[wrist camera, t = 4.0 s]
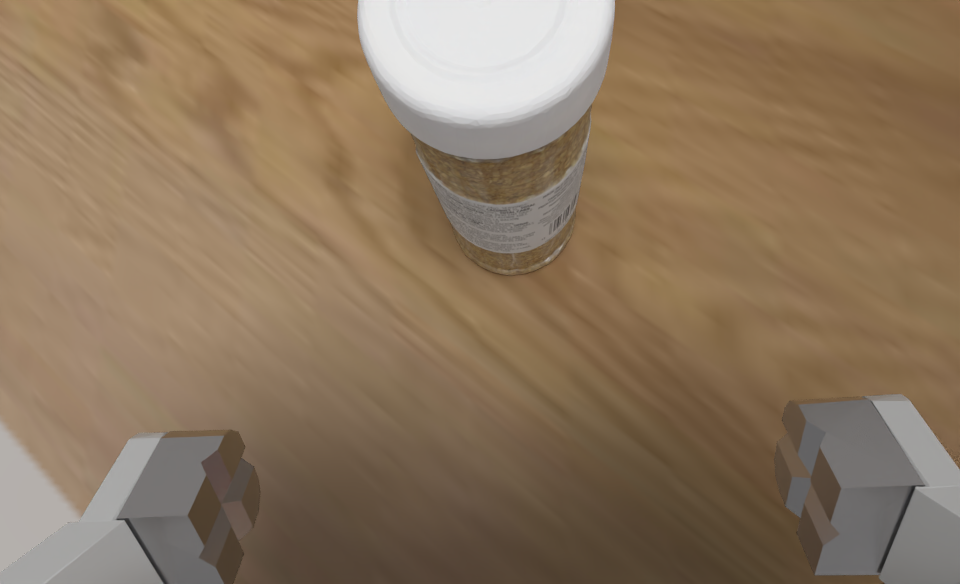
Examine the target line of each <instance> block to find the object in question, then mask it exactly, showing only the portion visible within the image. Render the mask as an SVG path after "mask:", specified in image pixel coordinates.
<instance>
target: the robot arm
mask: <svg viewBox="0 0 960 584" xmlns="http://www.w3.org/2000/svg"><path fill="white" fill-rule="evenodd" d="M782 422H783V424H784V426H785V428H786V430H787V434H786V435H785V436H784V437H782V438H781V439H780V440H779V441H778V442H777V446H776V452H775V458H774V461H775V476H776V480H777V484H778V488H779V492H780V494H781V497H782V499H783V502H784V504H785V507H787V508H788V509H789V510H791V511H792V512H793V513H795V514H796V515H797V516H798V517H800V521H799V525H798V529H797V536H798V538H799V540H800V543H801V545H802V547H803V550H804V552H805V554H806V557H807V559H808V561H809V564H810V566H811V568H812V571H813V573H814V575H880V576H879V579H880V580H882V581H883V582H884V583H885V584H960V469H959V468H958V466H957V465H956V464H955V462H954V461H953V460H952V458H951V457H950V455H949V454H948V453H947V451H946V450H945V449H944V447H943V446H942V444H941V443H940V442H939V440H938V439H937V437H936V436H935V435H934V433H933V432H932V431H931V429H930V428H929V426H928V425H927V424H926V422H925V421H924V420H923V418H922V417H921V415H920V414H919V413H918V411H917V410H916V408H915V407H914V406H913V404H912V403H911V402H910V400H909V399H908V398H906V397H905V396H903V395H902V394H891V395H875V396H863V397H843V398H826V399H810V400H793V401H789V402H788V404H787V405H786V407H785V409H784V413H783V417H782ZM244 449H245V444H244V442H243V440H242V438H241V436H240V434H239V432H238V431H233V430H206V431H170V432H154V433H138V434H136V435H135V436H133V437H132V438H130V439H129V440H128V442H127V443H126V445H125V447H124V448H123V450H122V451H121V453H120V455H119V456H118V458H117V460H116V461H115V463H114V465H113V466H112V468H111V469H110V471H109V473H108V474H107V476H106V478H105V479H104V481H103V483H102V484H101V486H100V487H99V489H98V491H97V492H96V494H95V496H94V497H93V499H92V501H91V502H90V504H89V505H88V507H87V509H86V510H85V512H84V514H83V515H82V517H81V519H80V520H79V522H69V523H67V524H66V525H64V526H63V527H62V528H60V529H59V530H58V531H56V532H55V533H54V534H52V535H51V536H49V537H48V538H47V539H45V540H44V541H43V542H41V543H40V544H38V545H37V546H36V547H34V548H33V549H32V550H30V551H29V552H27V553H26V554H25V555H23V556H22V557H21V558H19V559H18V560H17V561H15V562H14V563H12V564H11V565H10V566H8V567H7V568H6V569H4V570H3V571H2V572H0V584H233V583H234V581H235V578H236V575H237V572H238V569H239V567H240V564H241V561H242V558H243V556H244V552H243V550H242V548H241V545H240V543H239V540H240V539H242V538H243V537H244V536H245V535H246V534H247V533H248V532H249V531H250V530H251V529H252V528H253V527H254V524H255V521H256V518H257V515H258V512H259V503H260V485H259V479H258V476H257V473H256V471H255V468H254V466H252V465H251V464H249V463H248V462H246V461H245V460H244V459H242V458H241V457H242V454H243V452H244Z"/></svg>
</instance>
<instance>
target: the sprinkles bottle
mask: <svg viewBox="0 0 960 584" xmlns="http://www.w3.org/2000/svg"><path fill="white" fill-rule="evenodd" d="M614 14H615V0H358V14H357V18H358V30H359V37H360V42H361V46H362V49H363V52H364V54H365V57H366V60H367V62H368V65H369V67H370V69H371V72H372V74H373V76H374V78H375V80H376V83H377V85H378V87H379V89H380V91H381V93H382V95H383V97H384V99H385V101H386V103H387V105H388V106H389V108H390V110H391V111H392V113H393V114H394V115H395V117H396V118H397V119H398V121H399V122H400V123H401V124H402V125H403V126H404V127H405V128H406V129H407V130H408V131H409V132H410V133H411V135H412V137H413V140H414V142H415V145H416V153H417V155H418V157H419V159H420V162H421V164H422V166H423V168H424V170H425V172H426V174H427V176H428V178H429V180H430V182H431V184H432V186H433V189H434V191H435V193H436V195H437V197H438V199H439V201H440V203H441V205H442V208H443V210H444V212H445V214H446V216H447V218H448V219H449V221H450V222H451V225H452V228H453V232H454V235H455V237H456V240H457V242H458V243H459V245H460V246H461V248H462V250H463V251H464V253H465V254H466V256H467V257H469V258H470V259H471V260H473V261H474V262H476V263H477V264H478V265H479V266H481V267H483V268H485V269H487V270H489V271H491V272H494V273H499V274H504V275H517V274H525V273H529V272H532V271H535V270H538V269H540V268H541V267H543V266H545V265H547V264H549V263H550V262H551V261H553V260H554V259H555V258H556V257H557V256H558V255H559V253H560V252H561V251H562V250H563V249H564V248H565V246H566V244H567V242H568V240H569V239H570V237H571V235H572V232H573V229H574V223H575V218H576V208H575V207H576V204H577V200H578V195H579V190H580V185H581V179H582V174H583V169H584V164H585V158H586V152H587V145H588V139H589V133H590V127H591V108H592V102H593V101H594V99H595V97H596V95H597V93H598V91H599V89H600V87H601V84H602V81H603V79H604V76H605V72H606V68H607V63H608V58H609V52H610V46H611V40H612V32H613V24H614Z"/></svg>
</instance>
